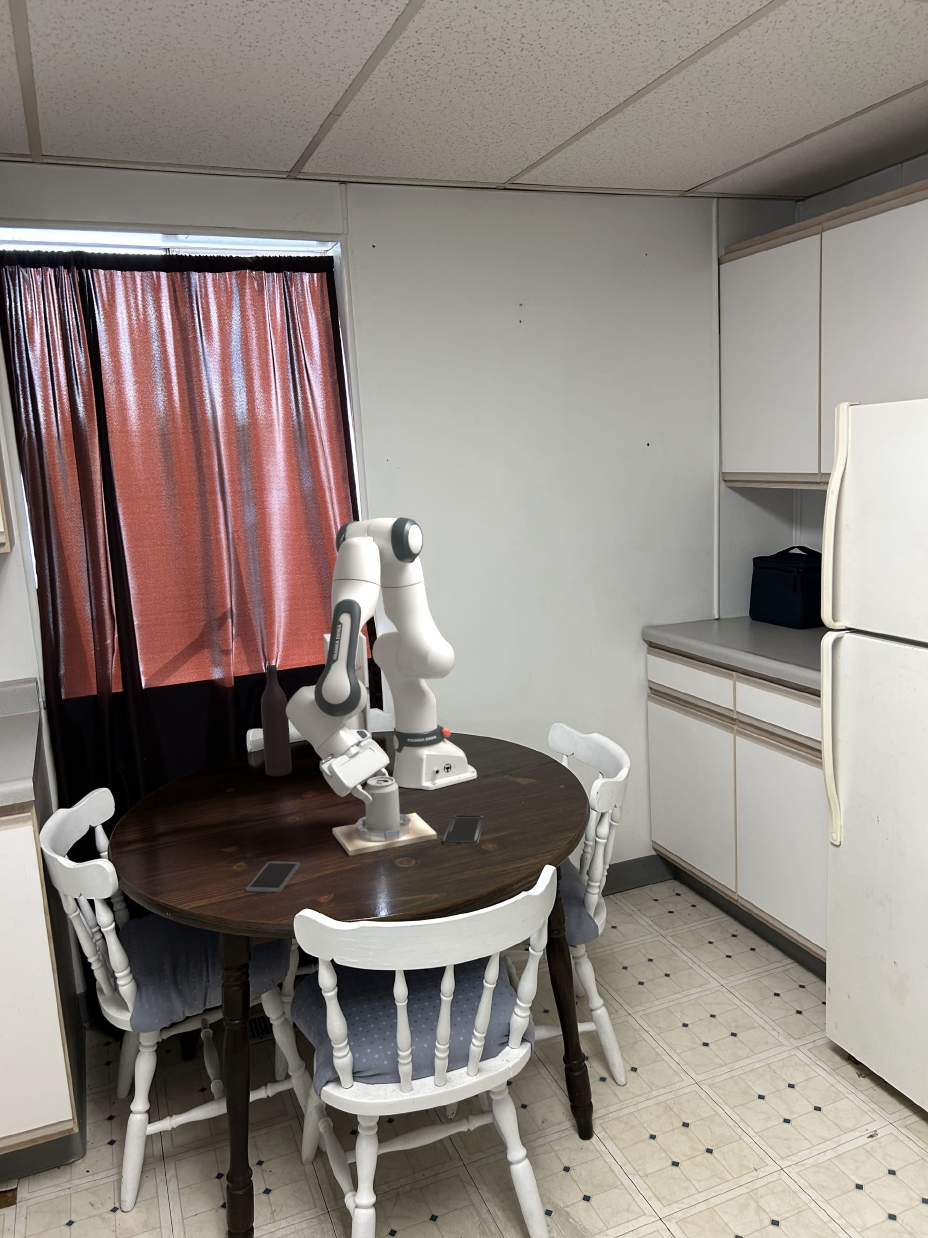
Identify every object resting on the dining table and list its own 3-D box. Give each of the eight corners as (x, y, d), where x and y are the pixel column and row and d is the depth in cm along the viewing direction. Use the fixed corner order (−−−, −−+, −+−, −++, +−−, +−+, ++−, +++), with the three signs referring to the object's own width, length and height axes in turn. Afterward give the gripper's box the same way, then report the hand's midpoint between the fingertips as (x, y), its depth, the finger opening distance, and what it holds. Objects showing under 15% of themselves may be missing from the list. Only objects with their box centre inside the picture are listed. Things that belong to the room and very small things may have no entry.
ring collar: (400, 817, 221) (400, 809, 220) (418, 835, 210) (417, 826, 209) (350, 826, 216) (350, 818, 216) (366, 845, 205) (365, 836, 205)
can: (405, 826, 215) (402, 775, 213) (393, 838, 208) (390, 786, 206) (374, 823, 217) (371, 773, 215) (361, 836, 210) (358, 784, 208)
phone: (485, 816, 221) (477, 841, 206) (485, 820, 221) (477, 846, 206) (451, 815, 222) (441, 841, 207) (451, 820, 222) (441, 846, 207)
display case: (330, 752, 277) (323, 634, 271) (367, 748, 279) (360, 631, 273) (335, 763, 266) (327, 641, 260) (372, 759, 268) (365, 638, 262)
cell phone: (244, 894, 188) (243, 890, 187) (268, 864, 201) (268, 861, 201) (279, 895, 186) (279, 891, 186) (301, 865, 200) (301, 861, 200)
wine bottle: (297, 771, 261) (290, 664, 256) (279, 778, 255) (271, 669, 250) (278, 767, 264) (270, 662, 259) (260, 774, 258) (252, 667, 254)
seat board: (415, 817, 223) (415, 812, 223) (436, 838, 210) (436, 833, 210) (332, 833, 216) (332, 828, 215) (349, 855, 203) (349, 850, 203)
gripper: (324, 754, 203) (367, 802, 201) (369, 728, 222) (409, 771, 219) (307, 772, 205) (350, 820, 203) (353, 744, 224) (392, 788, 222)
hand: (381, 794), depth 211 cm, fingers open, 8 cm apart
